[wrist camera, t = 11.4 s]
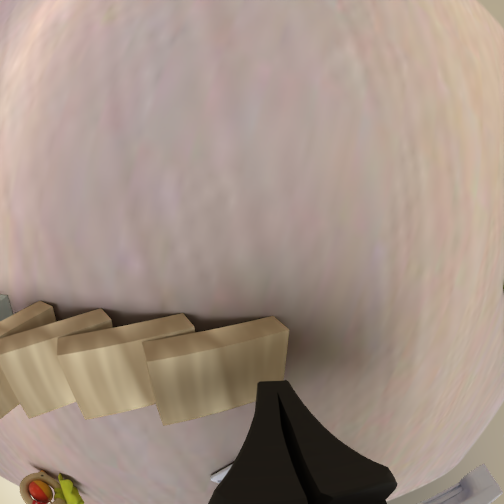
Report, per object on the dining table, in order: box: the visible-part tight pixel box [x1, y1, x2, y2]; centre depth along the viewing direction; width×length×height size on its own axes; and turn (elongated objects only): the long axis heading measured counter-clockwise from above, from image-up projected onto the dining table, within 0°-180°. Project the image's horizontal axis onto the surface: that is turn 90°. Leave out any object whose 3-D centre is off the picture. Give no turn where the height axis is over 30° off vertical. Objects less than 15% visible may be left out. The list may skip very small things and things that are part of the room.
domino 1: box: [0, 301, 57, 419], centre depth 11 cm, size 2×4×7 cm, turn 178°
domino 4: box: [142, 316, 289, 426], centre depth 14 cm, size 2×4×7 cm
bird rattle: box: [20, 470, 84, 504], centre depth 17 cm, size 6×11×9 cm
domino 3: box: [57, 313, 195, 420], centre depth 13 cm, size 2×4×7 cm
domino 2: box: [0, 308, 113, 419], centre depth 12 cm, size 2×4×7 cm
